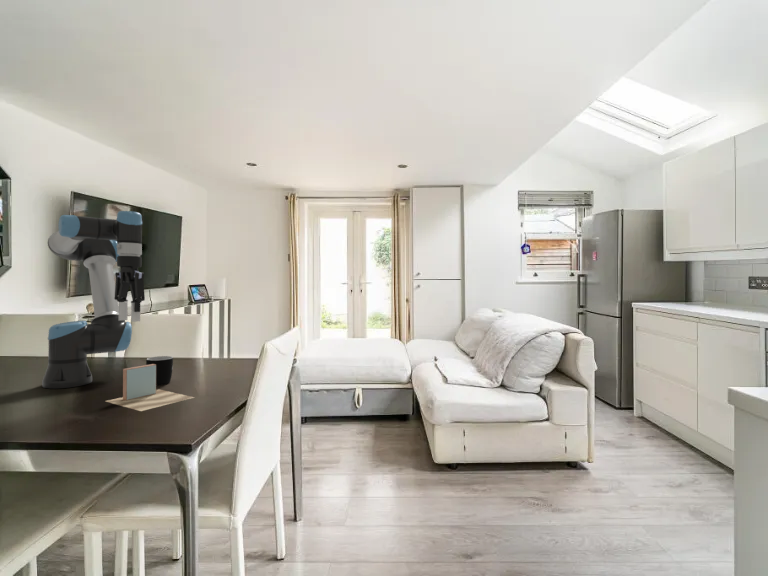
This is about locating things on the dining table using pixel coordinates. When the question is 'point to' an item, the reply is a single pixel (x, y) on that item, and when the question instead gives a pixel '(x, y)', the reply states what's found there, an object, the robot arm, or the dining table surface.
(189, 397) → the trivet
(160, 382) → the mug
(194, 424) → the dining table surface
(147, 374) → the tile
